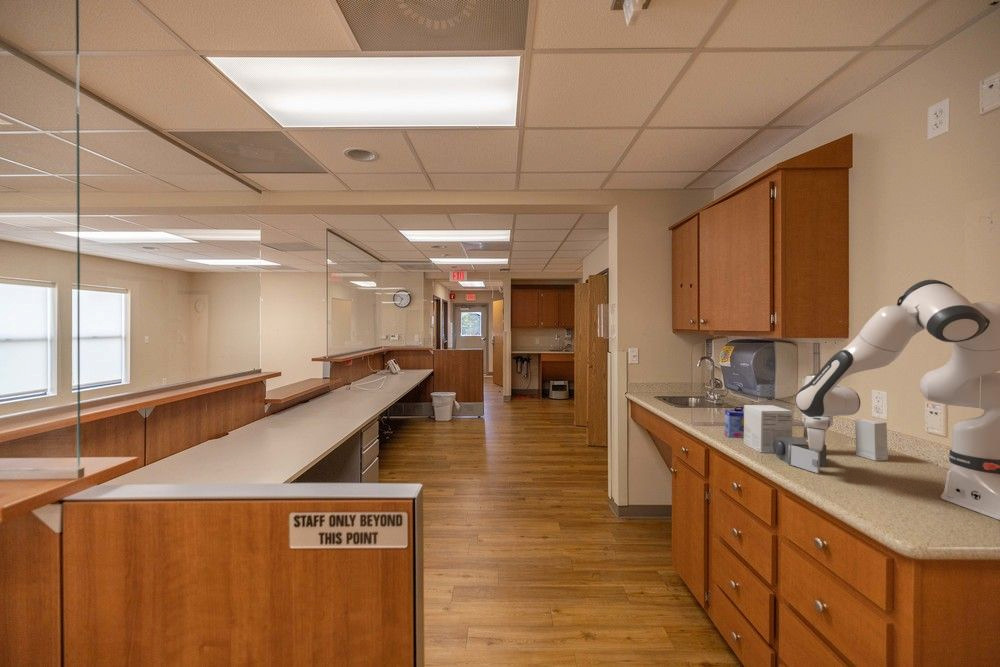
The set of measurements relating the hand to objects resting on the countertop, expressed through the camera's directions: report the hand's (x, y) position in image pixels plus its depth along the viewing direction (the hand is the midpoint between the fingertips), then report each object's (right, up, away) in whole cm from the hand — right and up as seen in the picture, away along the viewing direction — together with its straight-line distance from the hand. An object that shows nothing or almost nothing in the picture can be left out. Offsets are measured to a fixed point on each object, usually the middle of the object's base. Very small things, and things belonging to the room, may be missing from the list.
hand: (815, 456), depth 152 cm
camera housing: (+3, -5, +12) cm, 13 cm away
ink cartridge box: (-1, -5, +48) cm, 48 cm away
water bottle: (+17, -5, +25) cm, 30 cm away
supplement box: (0, -5, +29) cm, 29 cm away
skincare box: (+34, -6, +17) cm, 39 cm away
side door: (-3, -5, +2) cm, 6 cm away
